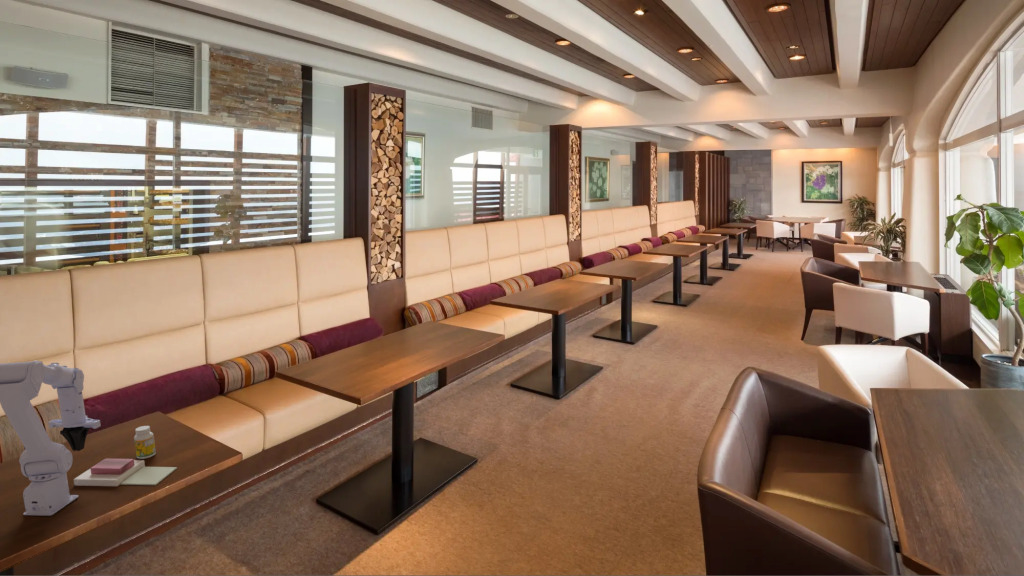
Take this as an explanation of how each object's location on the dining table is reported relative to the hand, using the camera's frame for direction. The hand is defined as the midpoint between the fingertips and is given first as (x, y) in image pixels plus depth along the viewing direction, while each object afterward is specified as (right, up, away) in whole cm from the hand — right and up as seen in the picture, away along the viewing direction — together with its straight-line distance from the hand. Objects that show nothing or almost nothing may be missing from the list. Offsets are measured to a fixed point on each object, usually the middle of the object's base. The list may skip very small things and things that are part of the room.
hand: (78, 449), depth 171 cm
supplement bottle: (+12, -6, +14) cm, 19 cm away
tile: (+10, -5, +1) cm, 11 cm away
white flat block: (+9, -8, +1) cm, 12 cm away
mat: (+21, -8, +1) cm, 23 cm away
